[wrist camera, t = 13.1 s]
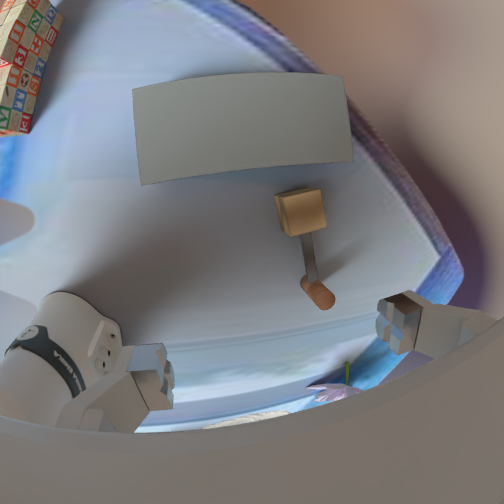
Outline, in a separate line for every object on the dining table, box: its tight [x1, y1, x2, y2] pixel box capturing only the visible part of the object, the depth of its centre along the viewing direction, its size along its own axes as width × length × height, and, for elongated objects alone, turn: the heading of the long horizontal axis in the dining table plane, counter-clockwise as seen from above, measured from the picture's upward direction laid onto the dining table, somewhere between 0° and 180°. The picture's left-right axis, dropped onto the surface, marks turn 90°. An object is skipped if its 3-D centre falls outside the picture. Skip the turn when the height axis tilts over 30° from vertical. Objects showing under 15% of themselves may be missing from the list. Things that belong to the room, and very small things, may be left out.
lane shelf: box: [132, 72, 354, 186], centre depth 31 cm, size 11×25×7 cm, turn 97°
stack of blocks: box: [0, 0, 64, 137], centre depth 19 cm, size 21×6×12 cm, turn 172°
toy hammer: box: [274, 188, 335, 310], centre depth 37 cm, size 15×5×7 cm, turn 13°
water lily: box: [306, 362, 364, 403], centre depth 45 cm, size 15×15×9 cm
